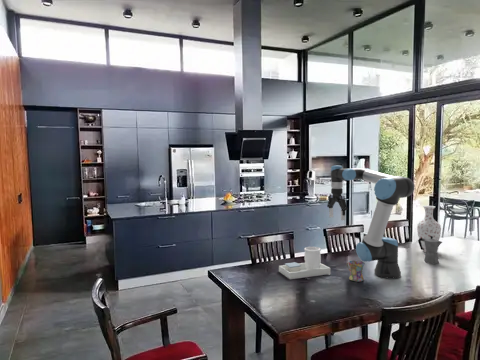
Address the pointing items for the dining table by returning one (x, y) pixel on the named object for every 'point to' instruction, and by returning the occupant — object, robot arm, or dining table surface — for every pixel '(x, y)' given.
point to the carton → (292, 269)
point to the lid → (292, 265)
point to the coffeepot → (430, 249)
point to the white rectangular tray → (304, 271)
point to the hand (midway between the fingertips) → (337, 218)
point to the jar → (312, 258)
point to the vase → (428, 226)
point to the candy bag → (356, 270)
